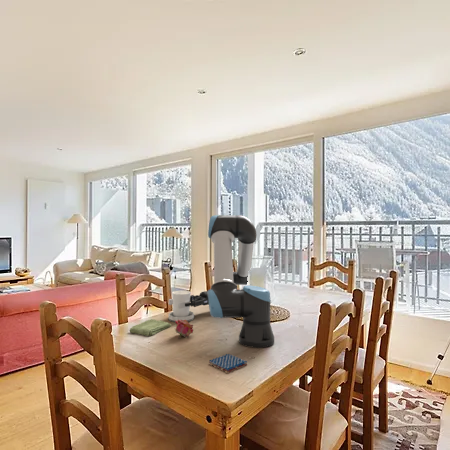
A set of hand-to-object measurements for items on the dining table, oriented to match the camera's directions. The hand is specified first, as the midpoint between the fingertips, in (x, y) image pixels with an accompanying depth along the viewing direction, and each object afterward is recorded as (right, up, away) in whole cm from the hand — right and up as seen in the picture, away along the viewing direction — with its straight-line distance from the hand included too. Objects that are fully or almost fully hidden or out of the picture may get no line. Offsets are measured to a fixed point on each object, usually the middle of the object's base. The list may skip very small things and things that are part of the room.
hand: (173, 303), depth 173 cm
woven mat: (+28, -10, -54) cm, 61 cm away
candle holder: (+3, -7, +3) cm, 8 cm away
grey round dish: (+3, -9, +3) cm, 10 cm away
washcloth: (-9, -9, -15) cm, 19 cm away
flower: (+8, -9, -25) cm, 28 cm away
